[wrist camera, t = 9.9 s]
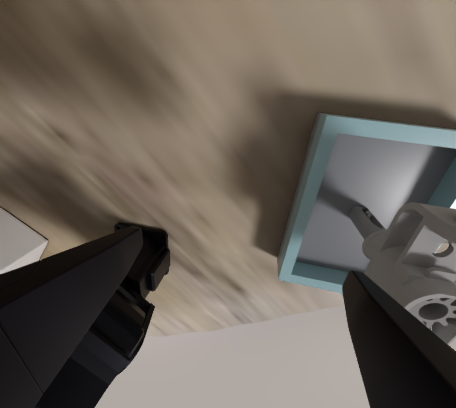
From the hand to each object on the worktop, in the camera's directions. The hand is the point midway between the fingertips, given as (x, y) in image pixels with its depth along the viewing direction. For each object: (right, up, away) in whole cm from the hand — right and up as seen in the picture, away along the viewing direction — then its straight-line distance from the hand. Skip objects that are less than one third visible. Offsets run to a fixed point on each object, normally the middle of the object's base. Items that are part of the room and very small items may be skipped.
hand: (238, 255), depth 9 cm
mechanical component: (+11, +2, +10) cm, 15 cm away
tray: (+11, +2, +10) cm, 15 cm away
